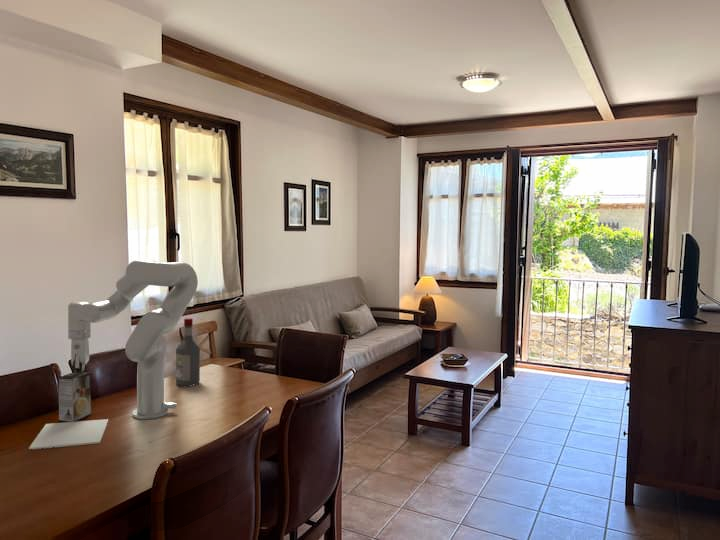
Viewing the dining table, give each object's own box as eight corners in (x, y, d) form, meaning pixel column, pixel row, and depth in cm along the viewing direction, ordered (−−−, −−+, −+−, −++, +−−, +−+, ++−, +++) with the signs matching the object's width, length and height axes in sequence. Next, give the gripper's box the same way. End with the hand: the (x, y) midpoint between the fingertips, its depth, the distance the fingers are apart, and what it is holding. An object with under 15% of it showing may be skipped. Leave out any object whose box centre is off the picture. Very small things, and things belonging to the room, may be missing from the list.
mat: (108, 420, 191) (108, 419, 191) (99, 443, 170) (99, 441, 170) (45, 425, 184) (45, 423, 184) (28, 449, 163) (28, 447, 163)
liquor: (186, 387, 235) (186, 321, 233) (173, 384, 240) (173, 319, 238) (202, 383, 243) (203, 319, 241) (189, 379, 248) (189, 317, 246)
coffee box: (76, 412, 199) (76, 370, 198) (91, 414, 197) (91, 372, 196) (58, 420, 190) (58, 376, 189) (73, 422, 188) (73, 378, 187)
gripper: (87, 337, 194) (87, 386, 195) (93, 330, 209) (93, 375, 210) (64, 338, 192) (64, 387, 193) (72, 331, 206) (72, 377, 207)
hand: (79, 381), depth 201 cm, fingers closed
